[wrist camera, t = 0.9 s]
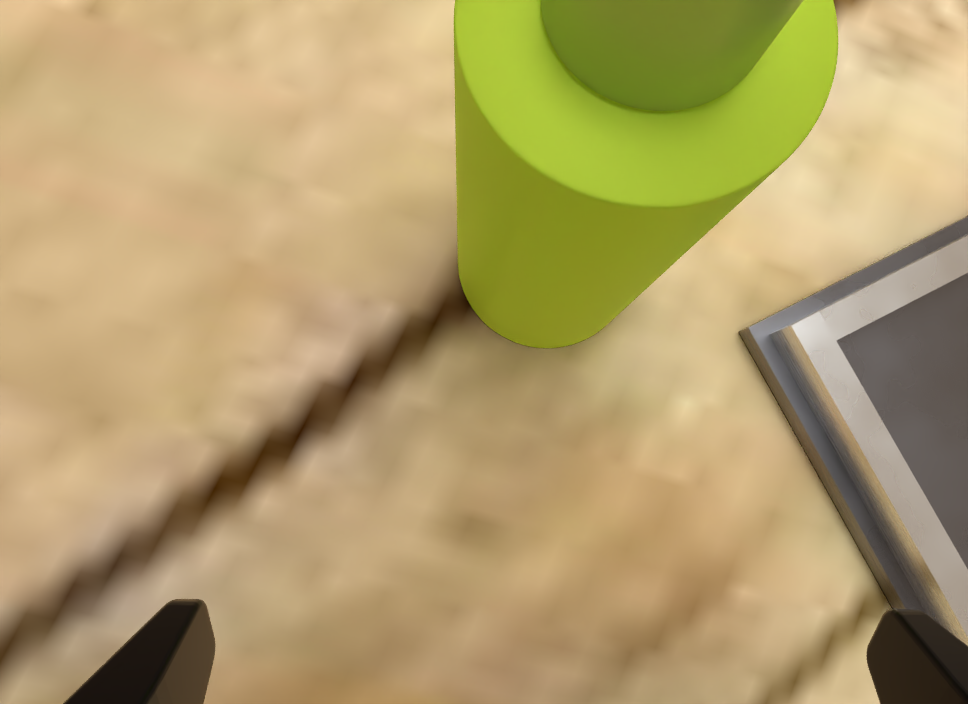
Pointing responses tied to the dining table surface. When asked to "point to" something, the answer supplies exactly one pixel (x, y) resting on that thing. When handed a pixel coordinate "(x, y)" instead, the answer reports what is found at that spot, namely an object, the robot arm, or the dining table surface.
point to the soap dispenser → (616, 142)
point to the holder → (887, 413)
